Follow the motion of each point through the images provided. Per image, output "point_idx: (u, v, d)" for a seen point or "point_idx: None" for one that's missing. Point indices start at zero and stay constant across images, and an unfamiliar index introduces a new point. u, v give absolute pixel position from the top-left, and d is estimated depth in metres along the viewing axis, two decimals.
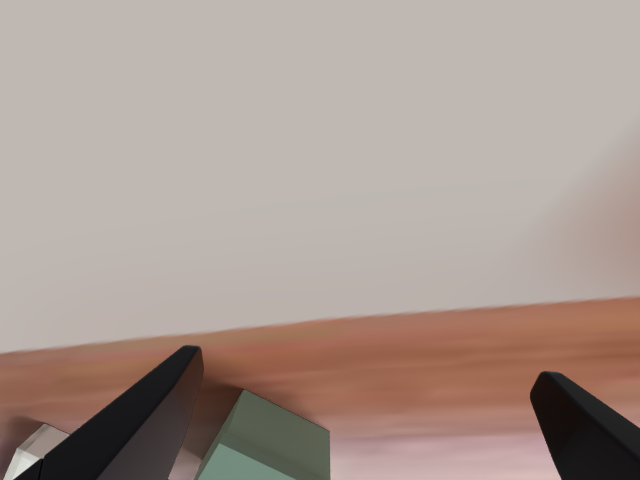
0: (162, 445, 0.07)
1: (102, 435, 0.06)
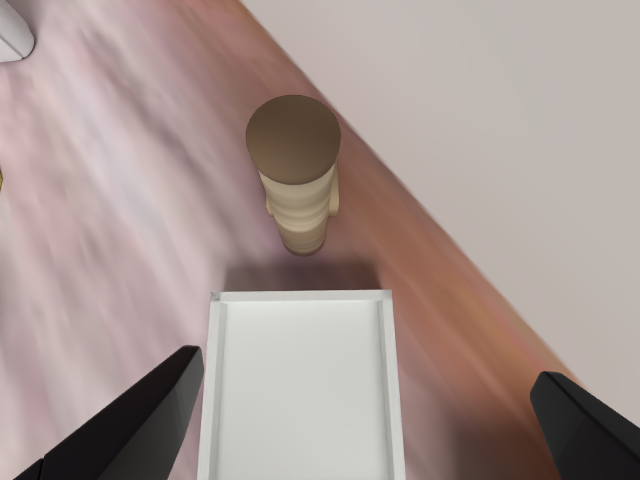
0: (162, 445, 0.07)
1: (102, 435, 0.06)
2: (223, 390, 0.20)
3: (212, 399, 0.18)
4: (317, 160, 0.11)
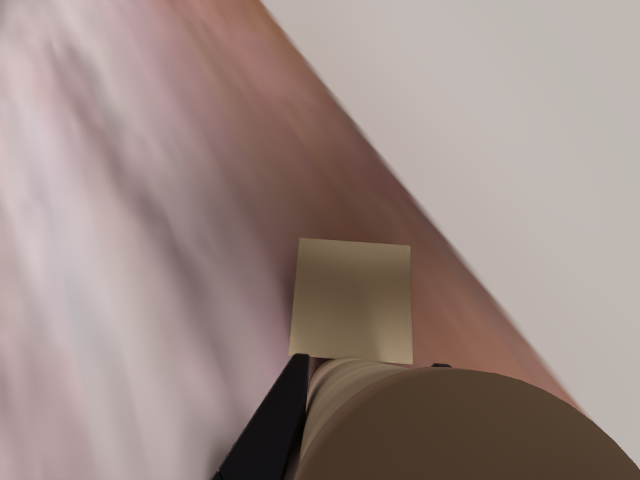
0: (297, 455, 0.07)
1: (264, 447, 0.06)
2: None
3: None
4: None
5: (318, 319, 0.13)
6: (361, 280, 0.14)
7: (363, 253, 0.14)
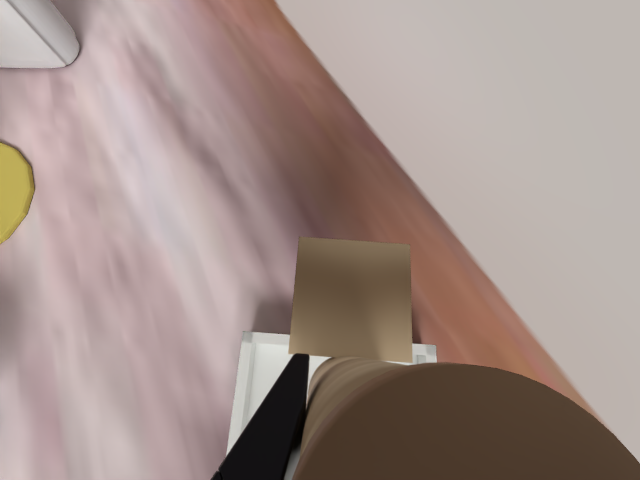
0: (297, 455, 0.07)
1: (264, 447, 0.06)
2: None
3: None
4: None
5: (318, 318, 0.13)
6: (360, 279, 0.14)
7: (363, 251, 0.14)
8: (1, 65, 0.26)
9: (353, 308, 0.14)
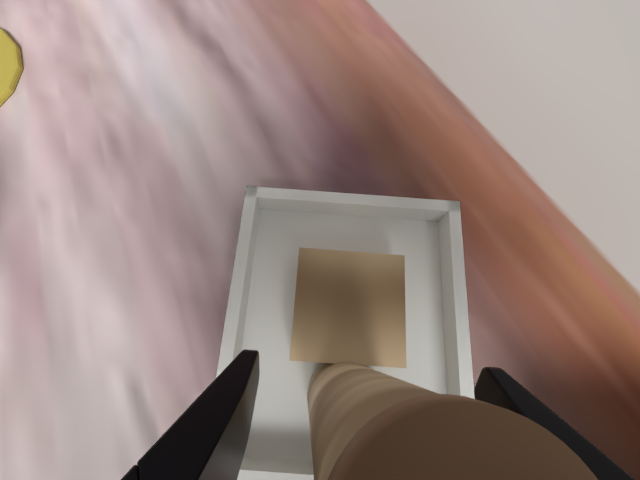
0: (234, 450, 0.07)
1: (189, 441, 0.06)
2: (250, 302, 0.17)
3: (239, 303, 0.15)
4: None
5: (317, 326, 0.14)
6: (358, 288, 0.15)
7: (360, 262, 0.15)
8: None
9: (351, 316, 0.14)
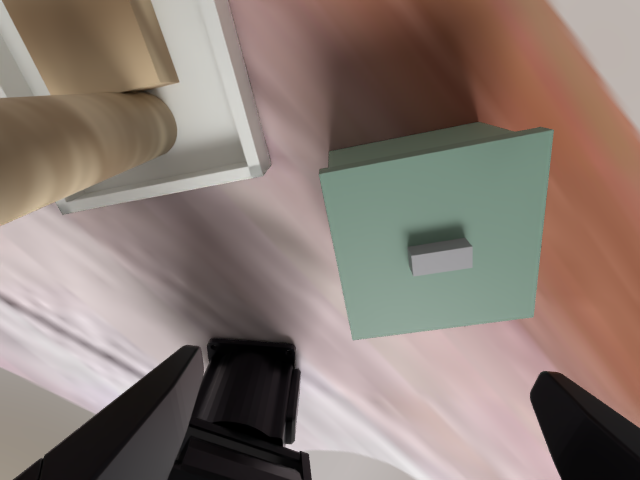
0: (162, 445, 0.07)
1: (102, 435, 0.06)
2: (16, 59, 0.15)
3: None
4: None
5: (61, 65, 0.14)
6: (75, 4, 0.13)
7: None
8: None
9: (85, 43, 0.13)
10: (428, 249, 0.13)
